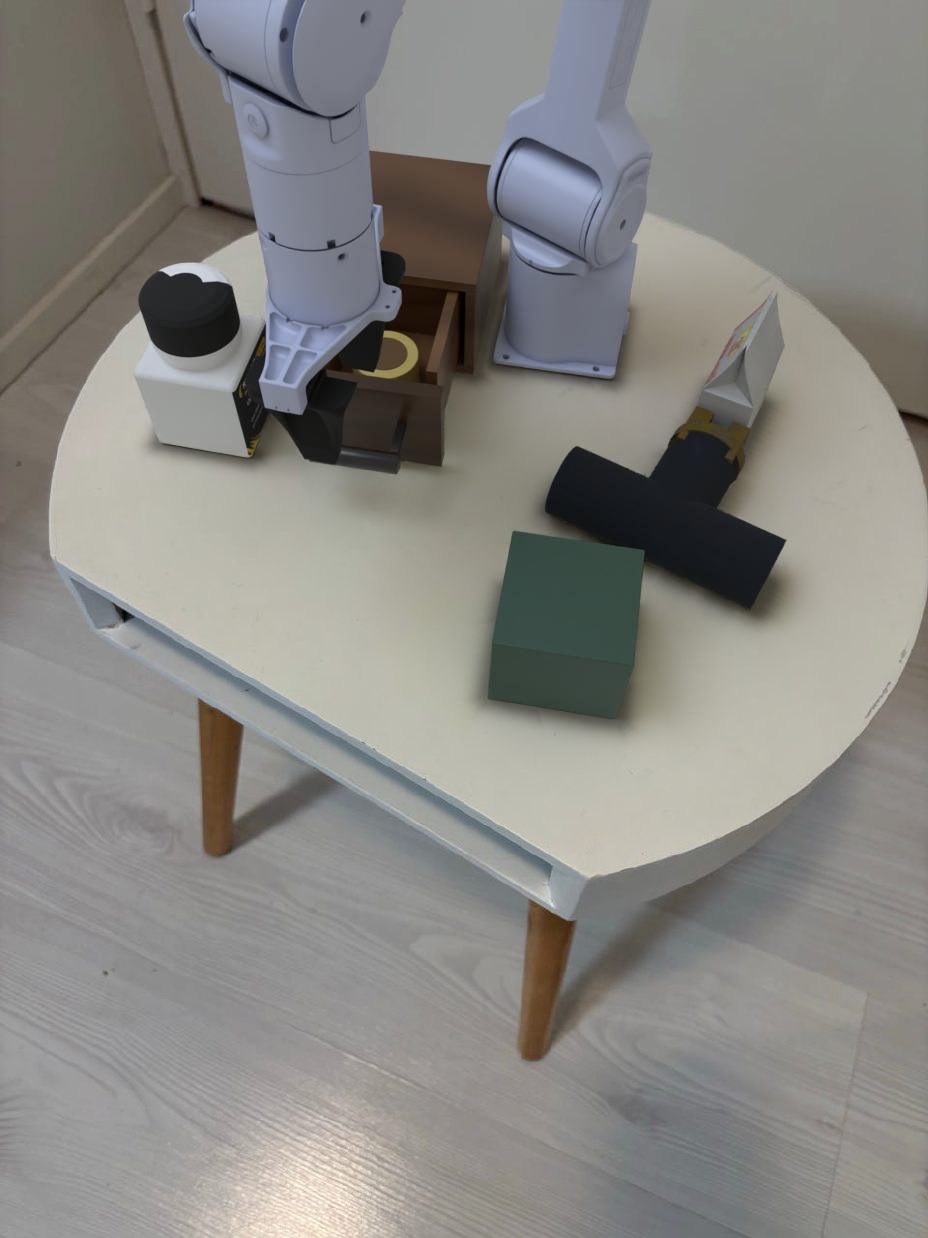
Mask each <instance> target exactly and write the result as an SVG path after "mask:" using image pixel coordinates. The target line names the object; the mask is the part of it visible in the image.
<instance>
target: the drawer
mask: <svg viewBox="0 0 928 1238" xmlns="http://www.w3.org/2000/svg"><path fill="white" fill-rule="evenodd" d="M398 288H399V289H400V290H401V294H402V303H401V306H400V308H399V310H398V313H397V315H396V317H395V318H394V319H393V320H391V321H386V324H385V329H384V331H394V332H398V333H401V334H404V335H405V336H407V337H409V338H410V339H411V340H412V341H413V342H414V343H415V345H416V346H417V349H418V352H419V378H420V383H418V382H411V381H404V380H397V379H389V378H382V377H375V376H368V375H360V374H353V370H352V368H347V367H343V365H342V363H341V361H340V359H339V357H338V354H336V355H335V356H334V357H333V358H332V359H331V360H330V361H329V362H328V363H327V364H326V365H325V366H324V367H323V368H322V369H326V372H327V376H328V377H333V378H338V379H343V380H348V381H353V382H358V384H357V386H356V388H355V391H354V393H353V396H352V398H351V400H350V403H349V405H348V407H347V408H346V410H345V413H344V419H343V439H342V448H341V452H340V455H339V458H338V460H337V463H336V464H335V465H334V466H337V467H342V468H343V467H344V468H348V469H349V468H350V469H357V470H364V471H370V472H377V473H383V474H391V475H398V474H399V472H400V470H401V462H405V463H412V464H419V465H426V466H432V467H439V468H441V467H443V463H444V459H445V454H446V452H445V451H446V450H445V445H446V444H445V412H446V408H447V404H448V401H449V395H450V391H451V389H452V388H451V387H452V383H453V379H454V375H455V373H456V372H455V368H456V364H457V360H458V356H459V352H460V348H461V344H462V337H463V334H462V333H463V292H462V291H455V290H447V289H439V288H432V287H424V286H417V285H409V284H401V283H400V285H399V287H398ZM322 369H321V370H322ZM308 462H310V463H314V464H315V463H316V464H322V465H327V464H326V463H322V462H317V461H312V460H308ZM328 465H329V466H332V465H331V464H328Z"/></svg>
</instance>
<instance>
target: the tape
mask: <svg viewBox="0 0 928 1238" xmlns="http://www.w3.org/2000/svg"><path fill="white" fill-rule="evenodd" d="M352 370H353V374H360V375H368V376H375V377H382V378H389V379H397V380H404V381H411V382H418V383H420V378H419V352H418V349H417V346H416V345H415V343H414V342H413V341H412V340H411V339H410V338H409V337H407V336H405V335H404V334H401V333H398V332H394V331H384V335H383V341H382V347H381V353H380V357H379V361H378V364H377V367H376V369H375V371H374V373H373V372H368V371H362V370H357V369H352Z"/></svg>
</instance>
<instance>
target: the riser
mask: <svg viewBox="0 0 928 1238" xmlns="http://www.w3.org/2000/svg"><path fill="white" fill-rule="evenodd" d="M644 555H645V551H644V550H640V549H633V548H627V547H620V546H615V545H613V544H606V543H599V542H593V541H586V540H579V539H572V538H566V537H558V536H552V535H547V534H539V533H533V532H525V531H519V530H512V531H511V537H510V542H509V548H508V554H507V560H506V564H505V569H504V574H503V575H504V576H503V580H502V585H501V590H500V597H499V602H498V606H497V607H498V608H497V612H496V617H495V623H494V629H493V632H492V633H493V634H492V639H491V647H490V661H489V672H488V673H489V674H488V687H487V699H490V700H494V701H495V700H496V701H503V702H509V703H513V704H519V705H525V706H533V707H539V708H544V709H551V710H555V711H556V710H557V711H563V712H570V713H577V714H581V715H587V716H593V717H598V718H599V717H600V718H605V719H612V720H616V719H617V716H618V712H619V709H620V706H621V703H622V701H623V698H624V695H625V693H626V690H627V687H628V683H629V680H630V677H631V675H632V672H633V669H634V666H635V657H636V647H637V637H638V627H639V618H640V617H639V615H640V605H641V597H642V596H641V595H642V586H643V575H644V566H645V565H644V564H645V560H644Z"/></svg>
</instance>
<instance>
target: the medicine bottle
mask: <svg viewBox="0 0 928 1238" xmlns="http://www.w3.org/2000/svg"><path fill="white" fill-rule="evenodd" d="M137 297H138V299H137V304H138V307H139V310H140V313H141V315H142V319H143V322H144V324H145V327H146V330H147V333H148V337H149V339H150V340H149V341H148V343H147V345H146V347H145V349H144V351H143V353H142V355H141V356H140V359H139V360H138V363H137V364H136V366H135V369H134V370H133V377H134V379H135V382H136V384H137V387H138V390H139V392H140V395H141V397H142V400H143V403H144V405H145V408H146V410H147V413H148V415H149V419H150V421H151V424H152V426H153V430H154V432H155V434H156V437H157V440H158V441H159V442H160V443H161V444H166V445H171V446H178V447H183V448H190V449H195V450H200V451H206V452H212V453H217V454H224V455H230V456H236V457H242V458H251V457H252V456H253V455H254V452H255V450H256V448H257V445H258V442H259V440H260V438H261V435H262V433H263V431H264V428H265V425H266V423H267V420H268V418H269V416H270V415H271V413H269V412H268V411H267V410H266V409H264V408H263V407H262V406H260V405H259V404H257V403H256V402H254V401H253V400H251V399H250V398H249V395H248V392H247V388H246V384H245V378H246V375H247V373H248V371H249V369H250V367H251V365H252V363H253V362H254V360H255V358H256V356H260V357H265V358H266V319H264V318H263V317H260V316H254V315H253V316H252V315H246V314H240V312H239V308H238V304H237V300H236V296H235V291H234V288H233V285H232V282H231V280H230V279H229V277H228V276H227V275H226V274H225V273H223V272H222V271H221V270H219V269H217V268H215V267H213V266H212V265H209V264H204V263H201V262H181V263H180V262H179V263H174V264H171V265H168V266H165V267H163V268H160V269H159V270H157V271H156V272H155V273H153V274H152V275H150V277H148V278H147V280H146V281H145V283H144V284H143V285H142V287H141V289H140V291H139V293H138V296H137Z"/></svg>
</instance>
